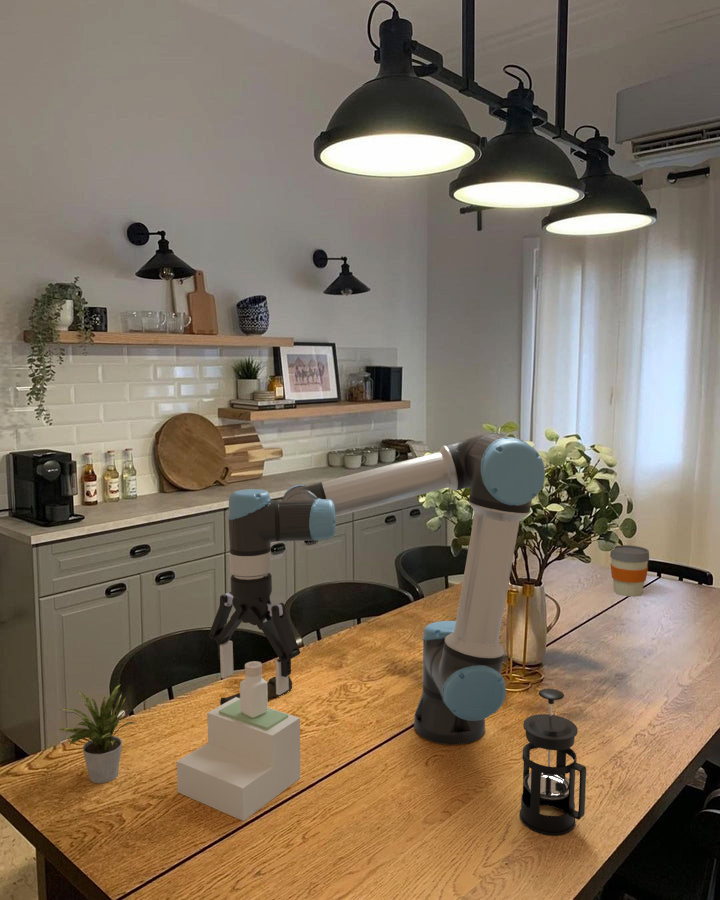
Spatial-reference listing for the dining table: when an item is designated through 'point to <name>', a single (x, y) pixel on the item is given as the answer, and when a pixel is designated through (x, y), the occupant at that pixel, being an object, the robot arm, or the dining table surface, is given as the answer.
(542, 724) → the french press
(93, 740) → the house plant
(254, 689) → the white square bottle
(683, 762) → the dining table surface
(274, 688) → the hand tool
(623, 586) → the reusable coffee cup
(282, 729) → the stepped riser
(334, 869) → the dining table surface
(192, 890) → the dining table surface
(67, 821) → the dining table surface
